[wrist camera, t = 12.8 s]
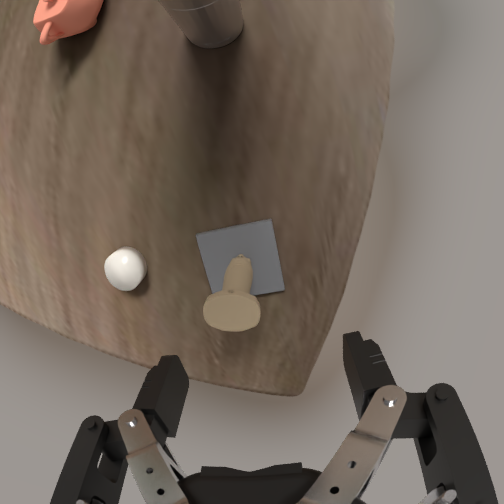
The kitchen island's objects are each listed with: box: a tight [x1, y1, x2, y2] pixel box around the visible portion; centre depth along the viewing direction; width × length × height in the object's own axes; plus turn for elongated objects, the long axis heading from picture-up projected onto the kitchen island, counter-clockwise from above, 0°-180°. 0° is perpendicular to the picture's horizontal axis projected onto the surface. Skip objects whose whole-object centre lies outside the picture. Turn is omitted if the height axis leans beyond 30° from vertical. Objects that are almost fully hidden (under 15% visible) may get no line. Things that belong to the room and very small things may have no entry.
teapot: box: [33, 0, 103, 45], centre depth 25 cm, size 20×12×12 cm, turn 172°
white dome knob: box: [105, 246, 147, 291], centre depth 46 cm, size 7×7×4 cm
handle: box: [203, 254, 260, 331], centre depth 38 cm, size 5×6×15 cm
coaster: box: [196, 219, 285, 295], centre depth 46 cm, size 12×12×1 cm
